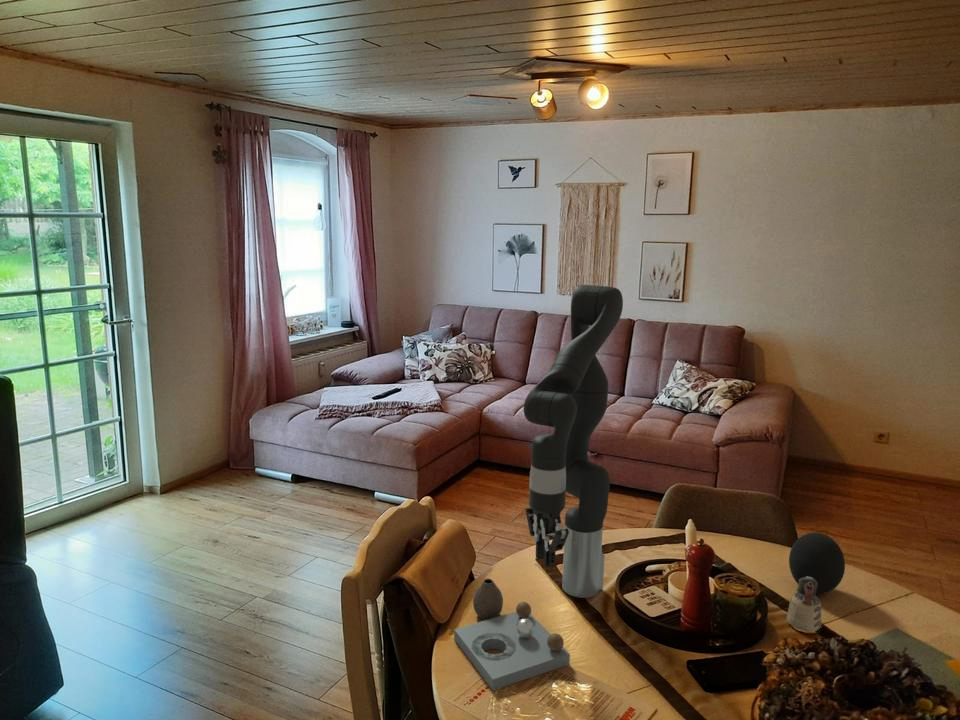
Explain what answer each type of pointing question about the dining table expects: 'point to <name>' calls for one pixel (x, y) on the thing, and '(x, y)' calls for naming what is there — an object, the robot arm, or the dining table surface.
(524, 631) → the steel ball
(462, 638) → the hole plate
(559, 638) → the walnut ball
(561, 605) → the dining table surface
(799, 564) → the decorative egg
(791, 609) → the figurine
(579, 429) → the robot arm
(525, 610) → the walnut ball
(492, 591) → the vase
